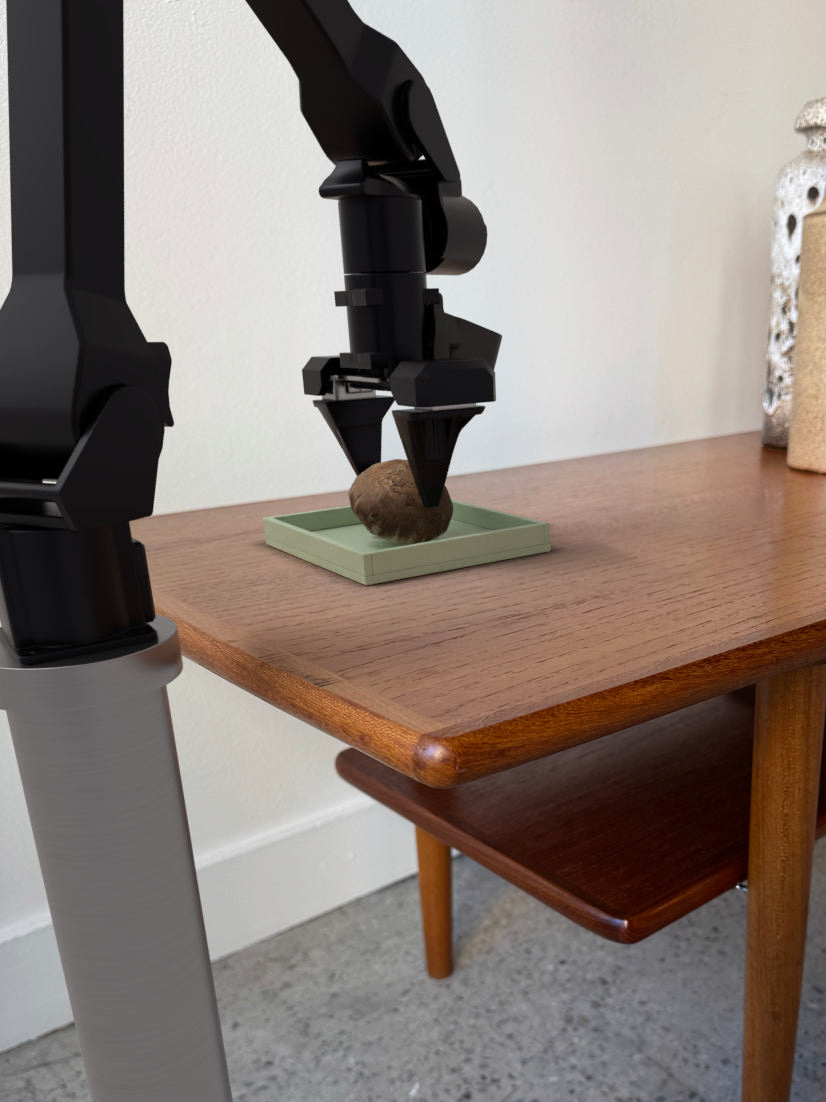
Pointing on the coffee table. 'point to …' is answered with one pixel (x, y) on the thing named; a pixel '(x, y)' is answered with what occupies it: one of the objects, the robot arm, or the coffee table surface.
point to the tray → (374, 560)
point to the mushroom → (397, 505)
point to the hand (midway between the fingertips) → (400, 498)
